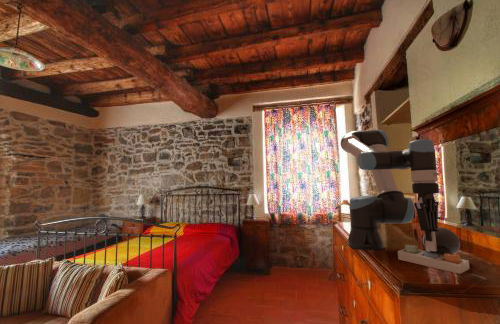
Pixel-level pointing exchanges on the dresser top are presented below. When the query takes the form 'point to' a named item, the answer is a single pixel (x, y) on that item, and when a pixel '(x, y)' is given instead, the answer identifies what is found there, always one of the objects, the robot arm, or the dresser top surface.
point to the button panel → (433, 261)
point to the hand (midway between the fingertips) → (431, 250)
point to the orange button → (452, 258)
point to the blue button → (430, 254)
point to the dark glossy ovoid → (445, 241)
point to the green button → (411, 249)
